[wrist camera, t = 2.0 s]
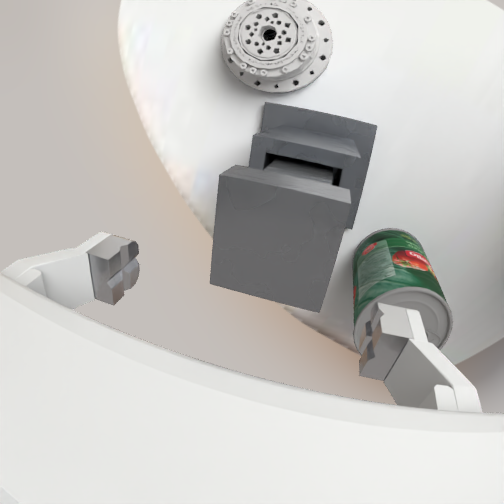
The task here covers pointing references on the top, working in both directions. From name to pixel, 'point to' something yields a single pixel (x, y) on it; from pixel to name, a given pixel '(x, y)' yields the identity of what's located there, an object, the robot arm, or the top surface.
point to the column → (279, 231)
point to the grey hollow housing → (317, 145)
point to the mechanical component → (277, 44)
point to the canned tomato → (398, 283)
